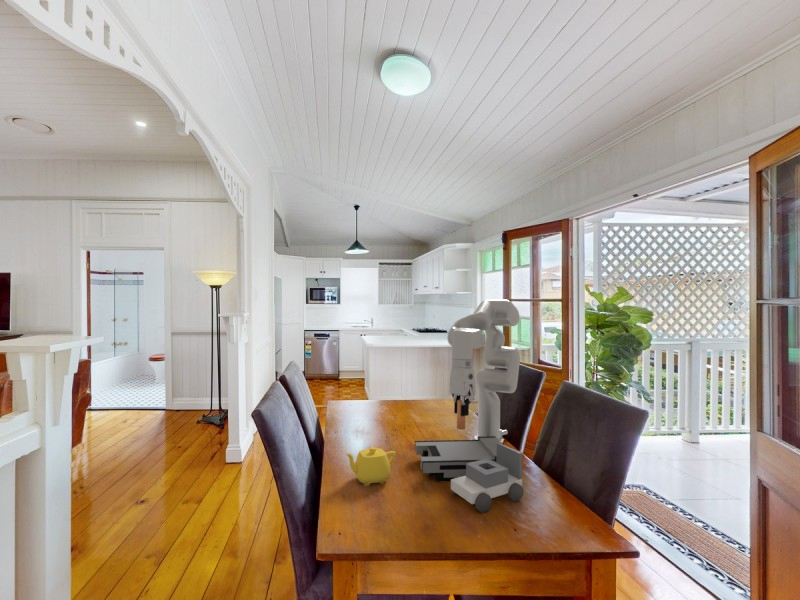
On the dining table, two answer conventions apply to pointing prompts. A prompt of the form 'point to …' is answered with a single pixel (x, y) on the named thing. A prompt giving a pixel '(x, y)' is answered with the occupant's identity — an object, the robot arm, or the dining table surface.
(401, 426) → the dining table surface
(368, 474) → the teapot
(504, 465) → the ramp trolley
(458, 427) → the pin
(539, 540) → the dining table surface
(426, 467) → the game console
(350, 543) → the dining table surface
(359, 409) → the dining table surface
